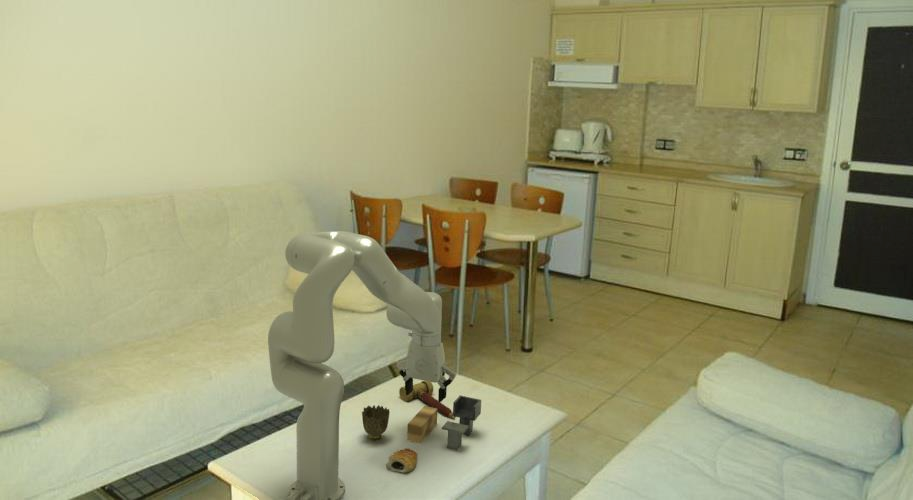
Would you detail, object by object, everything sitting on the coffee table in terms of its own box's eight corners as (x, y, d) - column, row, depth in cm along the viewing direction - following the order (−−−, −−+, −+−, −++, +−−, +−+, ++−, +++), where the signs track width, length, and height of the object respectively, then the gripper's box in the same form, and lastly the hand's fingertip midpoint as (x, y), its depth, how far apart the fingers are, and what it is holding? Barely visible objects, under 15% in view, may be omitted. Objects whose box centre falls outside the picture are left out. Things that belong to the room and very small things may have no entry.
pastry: (399, 453, 186) (399, 439, 185) (423, 458, 184) (424, 445, 183) (384, 470, 178) (385, 456, 177) (409, 476, 176) (410, 462, 175)
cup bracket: (473, 439, 195) (475, 407, 193) (451, 434, 197) (453, 402, 195) (479, 431, 200) (481, 399, 197) (458, 426, 202) (459, 395, 200)
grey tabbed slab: (461, 452, 187) (463, 432, 186) (440, 447, 189) (441, 427, 188) (467, 446, 191) (468, 425, 190) (446, 441, 193) (447, 420, 192)
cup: (384, 446, 189) (384, 418, 187) (357, 442, 190) (358, 415, 188) (392, 433, 196) (393, 406, 194) (366, 429, 197) (367, 403, 195)
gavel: (468, 406, 208) (441, 415, 202) (467, 420, 209) (440, 429, 203) (425, 377, 223) (399, 384, 217) (424, 390, 225) (398, 398, 218)
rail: (420, 443, 192) (421, 426, 190) (407, 440, 193) (407, 423, 192) (436, 424, 203) (437, 408, 201) (423, 421, 204) (424, 405, 203)
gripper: (391, 337, 191) (390, 396, 195) (451, 348, 185) (449, 408, 189) (403, 328, 198) (402, 385, 202) (461, 338, 192) (459, 397, 196)
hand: (425, 396), depth 196 cm, fingers open, 9 cm apart
